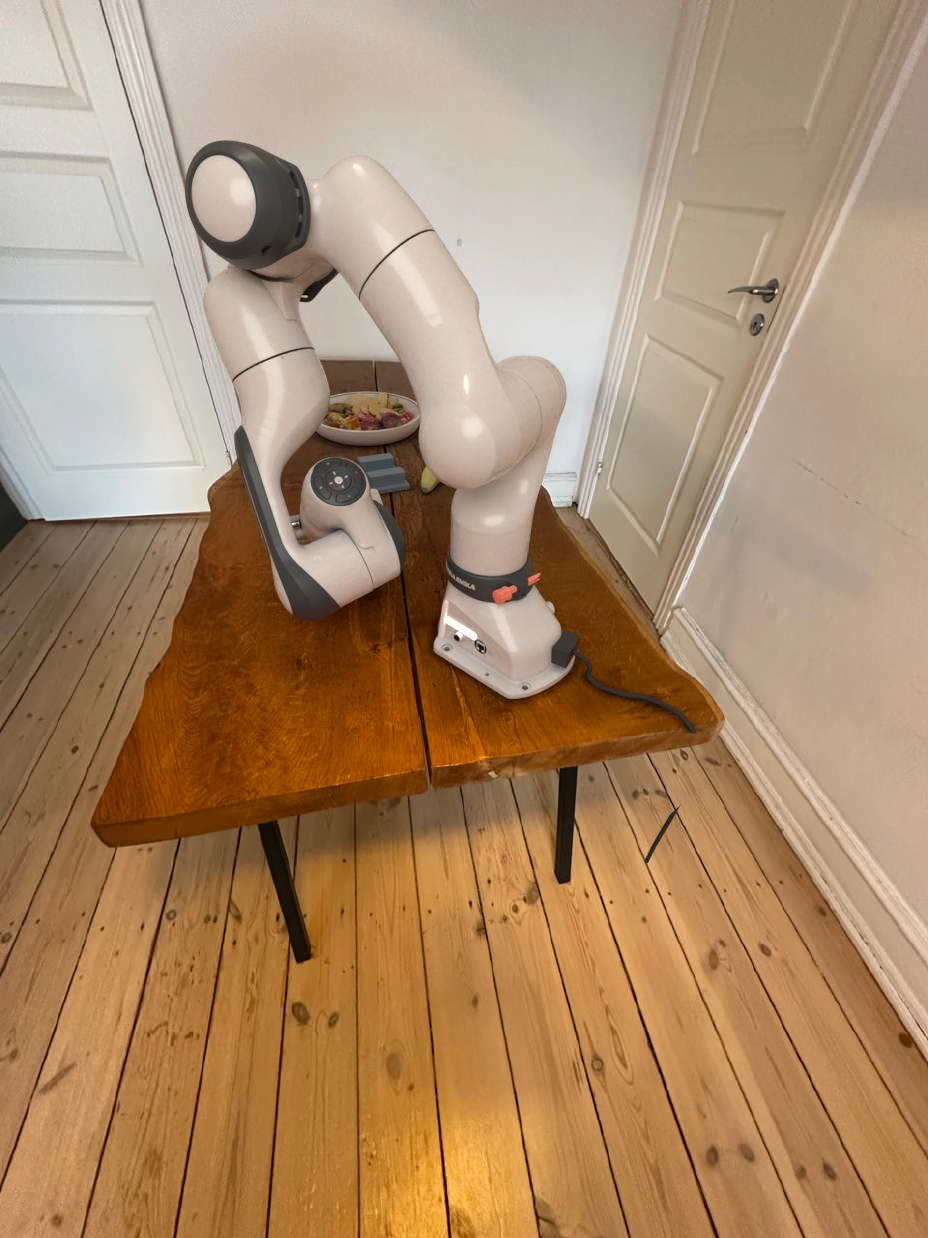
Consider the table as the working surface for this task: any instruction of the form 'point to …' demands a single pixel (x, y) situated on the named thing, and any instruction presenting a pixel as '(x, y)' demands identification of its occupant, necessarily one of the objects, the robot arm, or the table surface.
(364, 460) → the holder
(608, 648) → the table surface
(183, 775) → the table surface
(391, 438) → the bowl
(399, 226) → the robot arm
